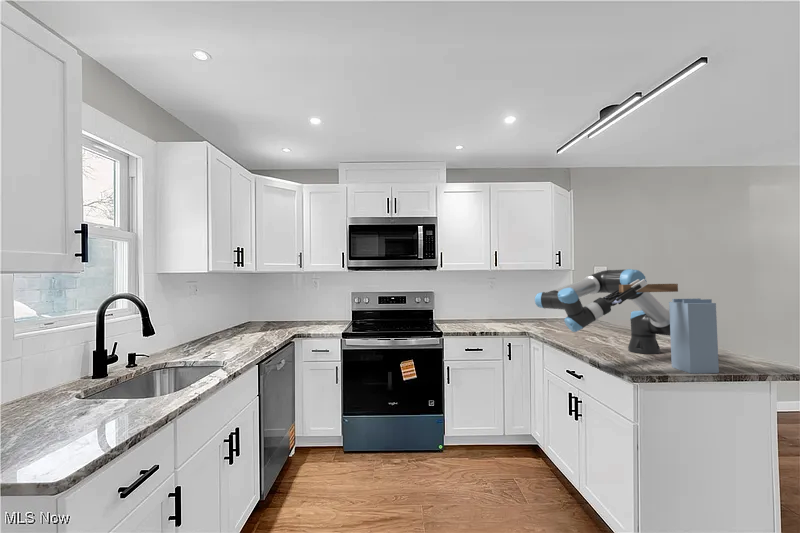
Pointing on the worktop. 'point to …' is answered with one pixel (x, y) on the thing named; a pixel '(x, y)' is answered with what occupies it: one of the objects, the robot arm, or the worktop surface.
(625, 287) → the brown block
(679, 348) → the tall blue prism
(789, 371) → the worktop surface
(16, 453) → the worktop surface
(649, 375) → the worktop surface
